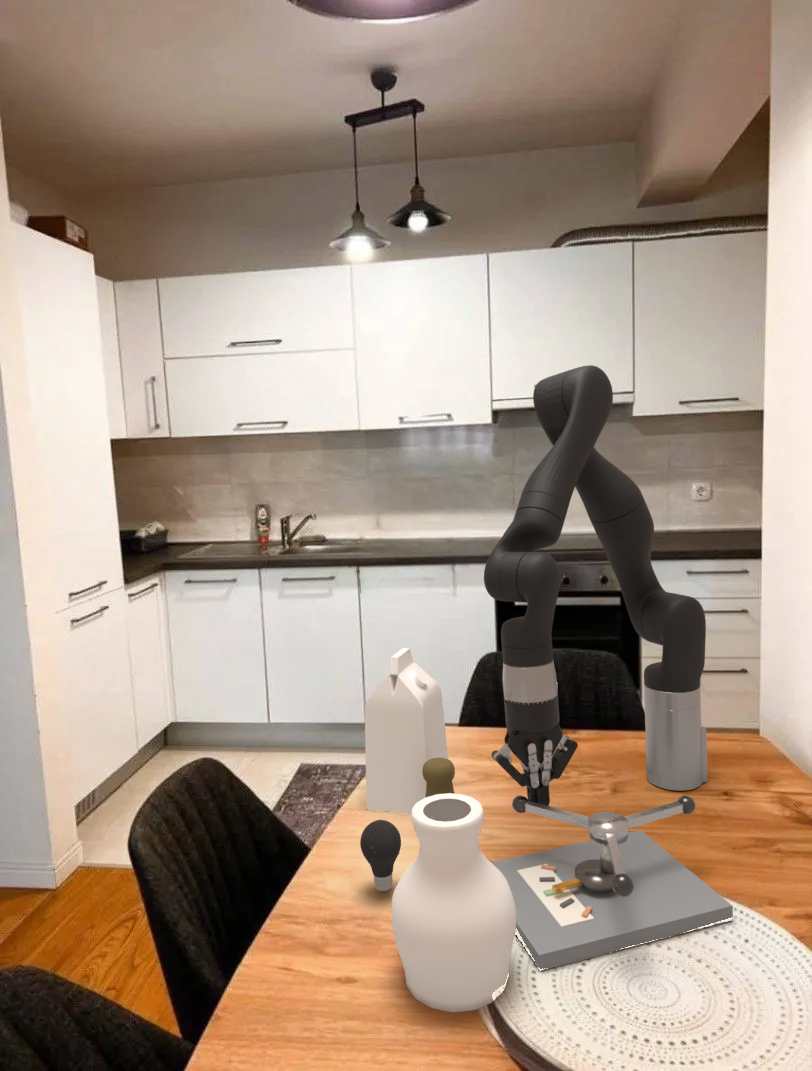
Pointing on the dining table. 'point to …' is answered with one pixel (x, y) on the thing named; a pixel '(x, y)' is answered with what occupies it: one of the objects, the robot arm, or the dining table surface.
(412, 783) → the milk
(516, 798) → the capstan
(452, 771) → the cork
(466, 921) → the vase
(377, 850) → the light bulb
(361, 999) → the dining table surface
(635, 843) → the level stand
